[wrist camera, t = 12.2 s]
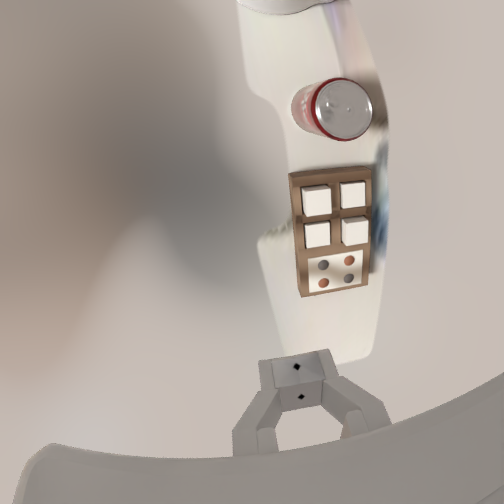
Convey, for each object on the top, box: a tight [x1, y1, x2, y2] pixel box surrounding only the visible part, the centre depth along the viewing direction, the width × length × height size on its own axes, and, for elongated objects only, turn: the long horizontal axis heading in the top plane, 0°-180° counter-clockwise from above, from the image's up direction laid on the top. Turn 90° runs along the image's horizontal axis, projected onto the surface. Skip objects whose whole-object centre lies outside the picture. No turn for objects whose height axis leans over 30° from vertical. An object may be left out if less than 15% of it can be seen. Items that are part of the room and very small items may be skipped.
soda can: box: [291, 78, 373, 141], centre depth 33 cm, size 7×7×12 cm
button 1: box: [303, 220, 330, 248], centre depth 44 cm, size 4×4×2 cm
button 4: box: [339, 180, 365, 209], centre depth 42 cm, size 4×4×2 cm
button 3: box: [341, 215, 368, 246], centre depth 43 cm, size 4×4×2 cm
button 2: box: [301, 184, 332, 217], centre depth 41 cm, size 4×4×2 cm
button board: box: [288, 166, 372, 298], centre depth 45 cm, size 20×12×3 cm, turn 8°
